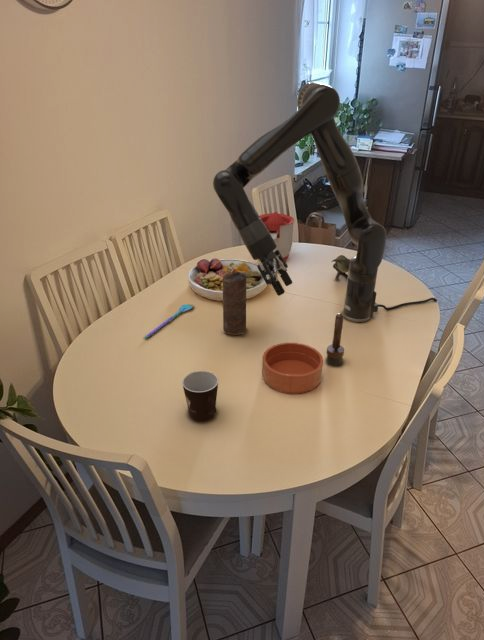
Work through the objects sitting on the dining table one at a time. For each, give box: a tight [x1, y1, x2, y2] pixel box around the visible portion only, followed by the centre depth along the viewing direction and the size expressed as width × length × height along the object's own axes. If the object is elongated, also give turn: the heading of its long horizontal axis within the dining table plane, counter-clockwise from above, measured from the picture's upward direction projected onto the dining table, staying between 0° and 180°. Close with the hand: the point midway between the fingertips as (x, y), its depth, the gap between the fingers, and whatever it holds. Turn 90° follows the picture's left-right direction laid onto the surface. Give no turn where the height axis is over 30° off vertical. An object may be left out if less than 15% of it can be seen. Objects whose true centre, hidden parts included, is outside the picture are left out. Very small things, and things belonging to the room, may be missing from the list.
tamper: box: [326, 313, 345, 367], centre depth 140 cm, size 5×5×16 cm
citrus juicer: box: [259, 211, 295, 262], centre depth 203 cm, size 16×17×20 cm
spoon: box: [145, 304, 194, 339], centre depth 161 cm, size 25×4×1 cm, turn 158°
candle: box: [222, 272, 247, 336], centre depth 152 cm, size 8×7×20 cm
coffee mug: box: [181, 370, 219, 423], centre depth 119 cm, size 12×9×10 cm
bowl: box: [187, 257, 268, 302], centre depth 183 cm, size 30×30×8 cm
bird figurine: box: [331, 254, 351, 281], centre depth 190 cm, size 13×10×20 cm
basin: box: [261, 342, 324, 395], centre depth 136 cm, size 17×17×6 cm
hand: (285, 289), depth 140 cm, fingers open, 8 cm apart
